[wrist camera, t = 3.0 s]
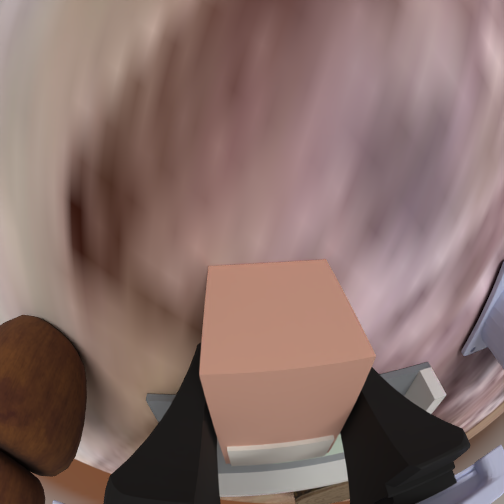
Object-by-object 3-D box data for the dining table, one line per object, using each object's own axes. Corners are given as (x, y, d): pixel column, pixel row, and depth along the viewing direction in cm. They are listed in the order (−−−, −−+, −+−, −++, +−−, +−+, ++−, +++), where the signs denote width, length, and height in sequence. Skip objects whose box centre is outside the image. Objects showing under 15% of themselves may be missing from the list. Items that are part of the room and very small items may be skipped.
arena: (427, 361, 16) (446, 394, 13) (365, 451, 23) (372, 474, 21) (147, 393, 15) (139, 436, 12) (194, 471, 23) (194, 496, 20)
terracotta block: (325, 259, 11) (378, 361, 7) (308, 371, 14) (329, 456, 10) (208, 265, 11) (198, 381, 6) (224, 378, 14) (226, 467, 10)
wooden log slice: (363, 448, 24) (370, 471, 21) (418, 449, 29) (424, 465, 27) (268, 489, 29) (270, 507, 27) (338, 489, 35) (341, 503, 32)
